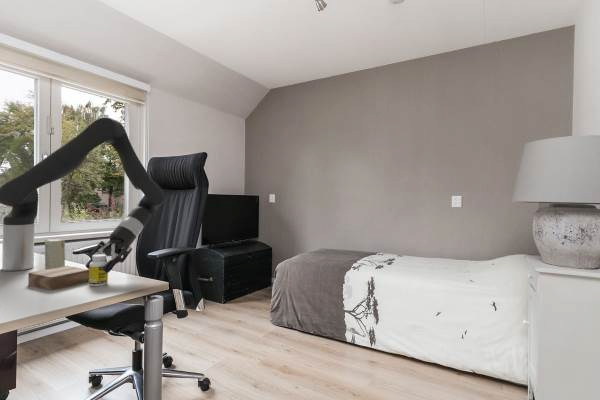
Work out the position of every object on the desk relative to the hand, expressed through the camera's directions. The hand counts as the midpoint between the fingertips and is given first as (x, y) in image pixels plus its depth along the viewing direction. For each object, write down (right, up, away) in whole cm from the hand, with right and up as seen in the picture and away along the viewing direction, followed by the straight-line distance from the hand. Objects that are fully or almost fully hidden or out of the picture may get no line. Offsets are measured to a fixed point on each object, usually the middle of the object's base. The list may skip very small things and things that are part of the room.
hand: (96, 269), depth 110 cm
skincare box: (-25, -4, +14) cm, 29 cm away
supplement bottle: (0, -5, +1) cm, 5 cm away
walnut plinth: (-13, -5, +1) cm, 14 cm away
